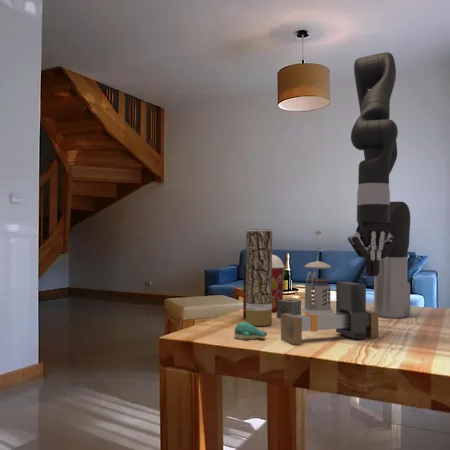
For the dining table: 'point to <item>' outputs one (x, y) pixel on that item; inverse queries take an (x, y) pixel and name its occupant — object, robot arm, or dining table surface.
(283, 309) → the grey cube
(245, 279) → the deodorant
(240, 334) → the whale figurine
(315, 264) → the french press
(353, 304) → the collar
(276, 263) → the smoothie
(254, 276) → the paper tube
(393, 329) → the dining table surface
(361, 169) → the robot arm
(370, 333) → the grey bar with endplates
